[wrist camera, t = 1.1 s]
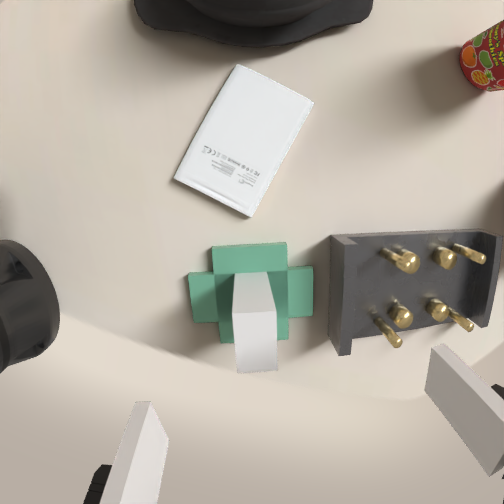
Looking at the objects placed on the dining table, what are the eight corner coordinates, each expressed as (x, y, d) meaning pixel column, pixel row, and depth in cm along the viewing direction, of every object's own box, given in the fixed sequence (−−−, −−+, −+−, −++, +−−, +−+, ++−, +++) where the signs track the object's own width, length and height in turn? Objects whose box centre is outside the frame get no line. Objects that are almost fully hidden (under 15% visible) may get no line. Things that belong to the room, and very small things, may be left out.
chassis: (327, 334, 33) (344, 367, 26) (330, 234, 30) (352, 250, 24) (467, 312, 33) (497, 333, 27) (479, 228, 31) (514, 239, 24)
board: (198, 338, 33) (183, 398, 23) (187, 247, 30) (162, 281, 20) (309, 331, 33) (333, 389, 23) (310, 240, 30) (341, 271, 21)
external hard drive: (311, 106, 28) (251, 216, 30) (236, 68, 27) (175, 177, 29) (315, 102, 26) (251, 218, 28) (236, 62, 25) (172, 177, 27)
